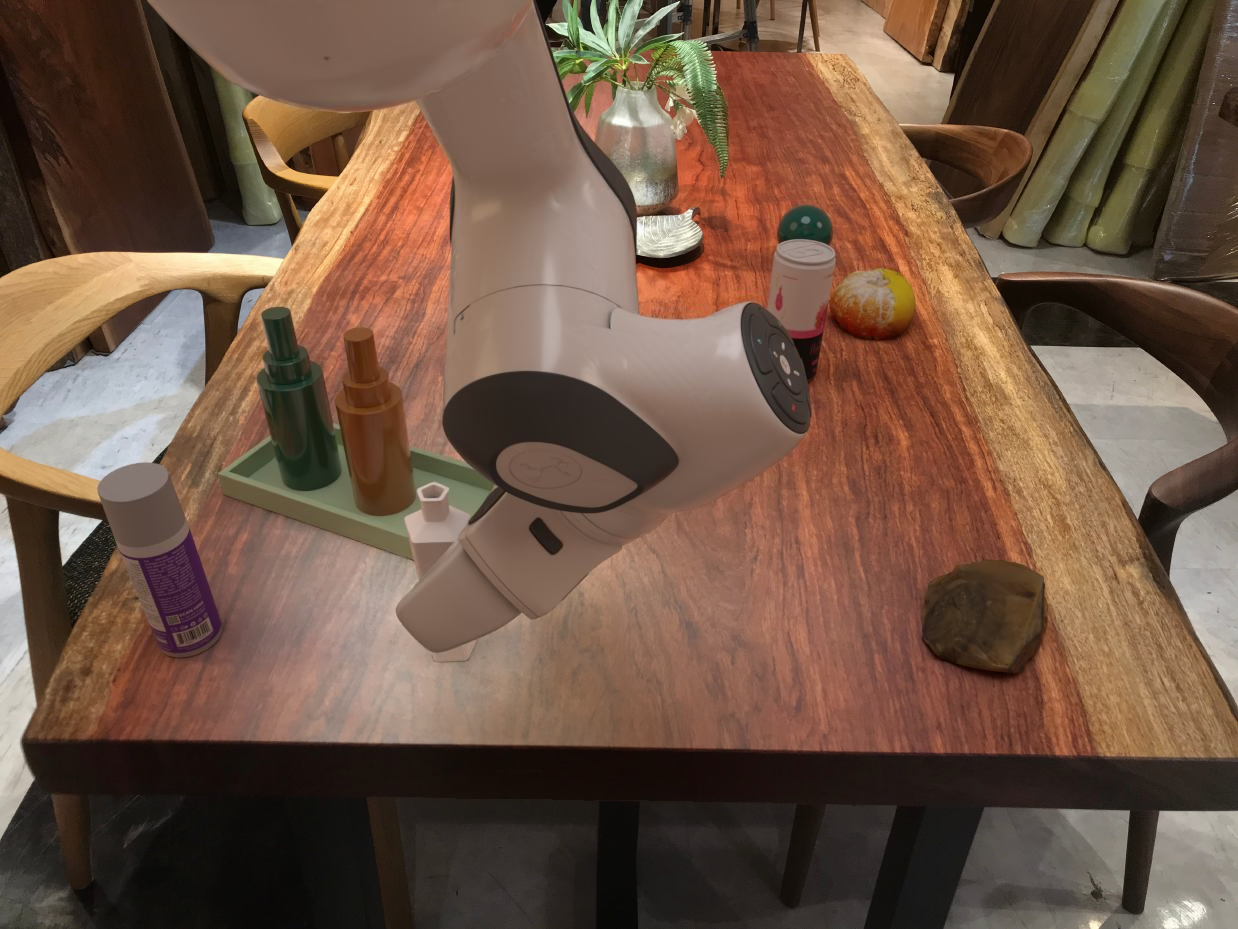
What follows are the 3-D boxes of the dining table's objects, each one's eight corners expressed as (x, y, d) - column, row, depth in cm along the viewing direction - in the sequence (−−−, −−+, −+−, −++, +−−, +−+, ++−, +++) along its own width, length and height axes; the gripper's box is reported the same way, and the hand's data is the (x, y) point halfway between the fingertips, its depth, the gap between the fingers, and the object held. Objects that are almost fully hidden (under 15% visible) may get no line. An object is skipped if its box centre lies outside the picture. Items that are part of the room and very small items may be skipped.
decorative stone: (1040, 695, 67) (1055, 663, 64) (911, 656, 69) (922, 624, 67) (1043, 602, 74) (1057, 571, 72) (928, 570, 77) (938, 540, 75)
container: (230, 612, 71) (180, 460, 63) (212, 657, 68) (156, 502, 59) (170, 614, 71) (111, 461, 62) (148, 658, 67) (82, 503, 59)
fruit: (833, 293, 121) (861, 242, 116) (903, 329, 119) (935, 279, 114) (812, 326, 112) (841, 272, 107) (887, 365, 111) (920, 313, 106)
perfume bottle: (408, 652, 68) (382, 498, 60) (446, 617, 72) (426, 466, 63) (455, 677, 67) (434, 522, 58) (491, 640, 70) (478, 488, 61)
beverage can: (826, 380, 103) (849, 257, 94) (777, 391, 101) (795, 266, 92) (796, 354, 108) (815, 235, 99) (749, 364, 106) (763, 243, 97)
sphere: (767, 264, 129) (774, 210, 124) (780, 245, 135) (787, 193, 130) (822, 274, 127) (831, 219, 122) (833, 254, 133) (842, 201, 128)
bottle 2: (392, 522, 80) (365, 356, 70) (341, 506, 82) (307, 341, 72) (428, 488, 84) (406, 326, 74) (378, 473, 86) (351, 312, 76)
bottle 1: (316, 497, 83) (279, 333, 73) (268, 481, 84) (225, 319, 74) (354, 465, 87) (324, 305, 77) (308, 451, 89) (272, 293, 79)
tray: (549, 508, 83) (549, 486, 82) (486, 585, 75) (484, 563, 73) (305, 433, 92) (300, 412, 91) (223, 494, 84) (217, 473, 82)
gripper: (617, 366, 61) (500, 447, 70) (453, 547, 46) (331, 622, 54) (675, 436, 62) (553, 507, 71) (533, 636, 47) (401, 694, 56)
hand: (455, 559), depth 63 cm, fingers open, 8 cm apart
